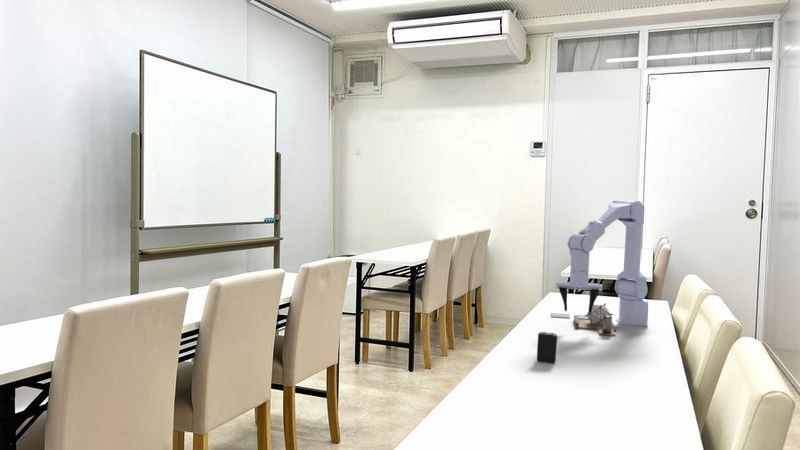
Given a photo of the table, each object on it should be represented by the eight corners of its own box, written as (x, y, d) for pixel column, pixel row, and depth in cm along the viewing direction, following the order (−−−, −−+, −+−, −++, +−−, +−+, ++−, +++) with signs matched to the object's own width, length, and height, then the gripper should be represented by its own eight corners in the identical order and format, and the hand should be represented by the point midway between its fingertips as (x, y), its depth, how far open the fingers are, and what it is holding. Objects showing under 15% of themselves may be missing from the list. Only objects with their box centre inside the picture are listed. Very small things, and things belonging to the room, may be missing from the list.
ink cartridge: (555, 361, 167) (557, 333, 166) (554, 364, 165) (556, 335, 164) (537, 359, 169) (539, 331, 168) (536, 361, 167) (538, 333, 166)
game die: (600, 335, 210) (614, 312, 212) (605, 333, 202) (620, 308, 204) (577, 321, 213) (591, 298, 214) (581, 318, 204) (596, 293, 206)
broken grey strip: (595, 317, 223) (595, 315, 223) (597, 320, 217) (597, 319, 217) (551, 314, 227) (551, 312, 227) (551, 317, 221) (551, 316, 221)
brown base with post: (612, 323, 213) (612, 306, 213) (618, 336, 195) (619, 318, 194) (573, 320, 216) (574, 304, 216) (576, 333, 198) (577, 315, 197)
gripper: (557, 270, 196) (555, 312, 197) (603, 273, 192) (602, 315, 193) (556, 267, 203) (554, 307, 204) (601, 270, 199) (600, 310, 200)
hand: (577, 311), depth 199 cm, fingers open, 7 cm apart
